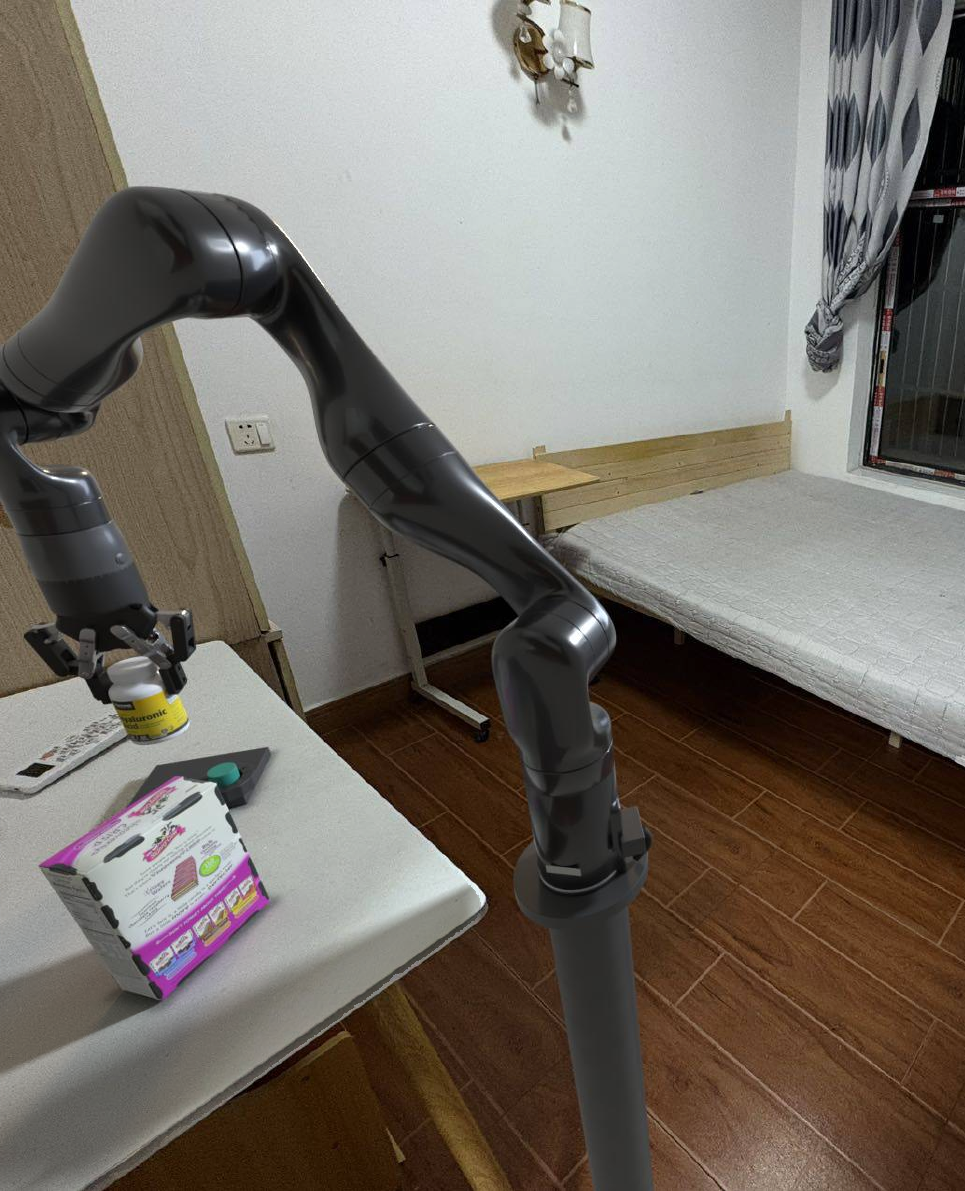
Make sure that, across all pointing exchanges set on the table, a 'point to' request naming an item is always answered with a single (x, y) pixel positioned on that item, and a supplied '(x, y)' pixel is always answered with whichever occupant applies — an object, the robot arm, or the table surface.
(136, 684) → the supplement bottle
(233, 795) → the scale
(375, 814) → the table surface
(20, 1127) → the table surface
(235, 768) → the button
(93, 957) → the table surface
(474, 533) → the robot arm
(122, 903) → the candy bar box
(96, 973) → the table surface
